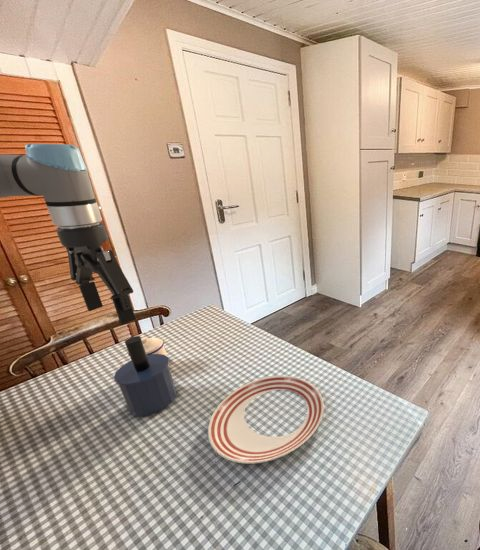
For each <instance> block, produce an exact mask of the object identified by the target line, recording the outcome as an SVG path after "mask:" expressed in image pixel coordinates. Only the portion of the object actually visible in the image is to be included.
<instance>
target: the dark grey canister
mask: <svg viewBox="0 0 480 550" xmlns="http://www.w3.org/2000/svg"><path fill="white" fill-rule="evenodd" d="M118 386H119V388H120V392H121V394H122V396H123V399H124V401H125V404H126V406H127V410H128V411H129V413H130V415H131V416H133V417H137V418H141V417H148V416H152V415H155V414H157V413H160V412H161V411H163V410H165V409H166V408H167V407H168V406H170V405H171V404H172V403H173V402H174V401H175V399H176V398H177V389H176V386H175V382H174V379H173V376H172V372H171V368H170V365H169V366H168V367H167V368H166V369H165V370H164V371H163V372H162V373H161V374H160V375H158V376H156V377H155V378H153V379H151V380H148V381H146V382H143V383H140V384H136V385H127V386H125V385H120V384H118Z"/></svg>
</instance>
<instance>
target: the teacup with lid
mask: <svg viewBox="0 0 480 550" xmlns="http://www.w3.org/2000/svg"><path fill="white" fill-rule="evenodd" d="M141 340H142V343H143V346H144V349H145V352H146V355H150V354H162V355H165V356H167V357H168V355H167V351H166V349H165V348H166V347H165V342H164V340H163V339H161V338H160V337H149V338H148V337H146V336H145V337H141ZM127 355H128V356H129V353H128V352H127ZM168 366H169V367H170V364H169V365H168Z"/></svg>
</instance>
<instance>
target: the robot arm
mask: <svg viewBox="0 0 480 550" xmlns="http://www.w3.org/2000/svg"><path fill="white" fill-rule="evenodd" d="M24 150H25V154H0V199H1V198H8V197H9V198H10V197H31V196H35V197H39V196H41V197H42V198H43V200H44V202H45V205H46V209H47V212H48V214H49V217H50V219H51V222H52V225H53V226H54V227H57V229H56V230H55V232H56V234H57V236H58V240H59V241H60V244H61V246H63V247H65V250H66V252H67V258H68V267H69V275H70V280H71V281H74V282H75V284H77V285H78V287H79V290H80V292H81V295H82V298H83V300H84V303H85V307H86V308H87V311H89V312H92V311H95V310H98V309H100V308H102V307H104V305H103V303H102V299H101V297H100V293H99V291H98V289H97V286H96V283H95V281H96V279H95V277H94V276H93V273H94V274H97V275H98V277H99V278H100V279H101V281H102V282H103V284H104V285H105V287H106V288H107V289H108V290H109V292H110V293H111V294H112V295H111V296H110V300H111V301H112V303H113V305H114V306H113V307H114V308H115V312H116V315H117V318H118V321H119V323H120V325H121V326H122V325H126V324H128V323H130V322H132V321H135V320H136V316H135V312H134V308H133V305H132V303H131V300H130V297H129V295H131V294H133V293H134V289H133V288H132V286H131V284H130V282H129V280H128V279H127V277H126V275H125V273H124V272H123V269H122V268H121V266H120V264H119V263H118V261H117V259H116V256H115V254H114V251H113V250H112V249H106V250H105V249H104V248H103V246H102V244H103V243H106V242H107V241H108V240H109V235H108V232H107V229H106V226H105V224H104V223H102V221H103V217H102V214H101V212H100V211H101V210H102V207H101V206H100V205H99V204H98V202H97V199H96V197H95V192H94V190H93V187H92V183H91V179H90V176H89V171H88V166H86V164H85V161H84V159H83V156H82V153H81V151H80V149H79V148H78V147H77V146H76V145H73V144H69V143H67V144H66V143H27V144H26V145H25V146H24Z"/></svg>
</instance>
